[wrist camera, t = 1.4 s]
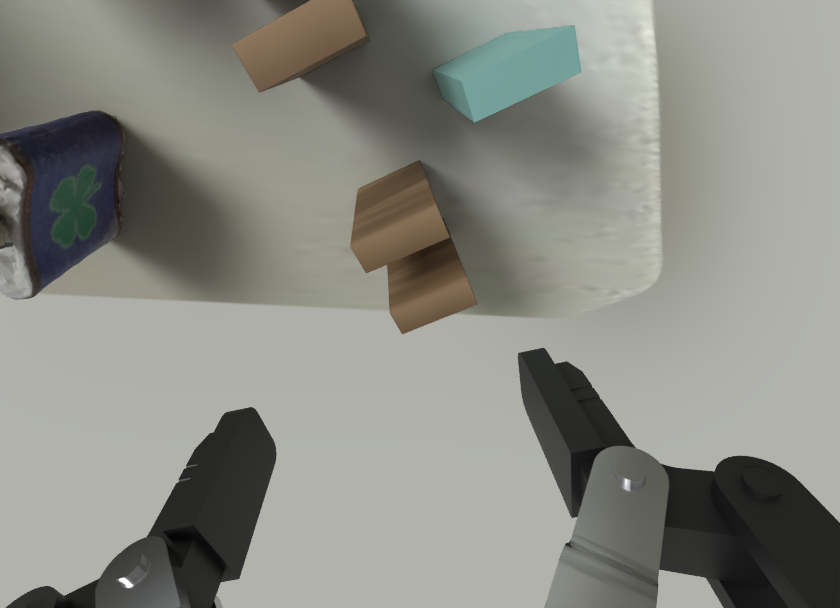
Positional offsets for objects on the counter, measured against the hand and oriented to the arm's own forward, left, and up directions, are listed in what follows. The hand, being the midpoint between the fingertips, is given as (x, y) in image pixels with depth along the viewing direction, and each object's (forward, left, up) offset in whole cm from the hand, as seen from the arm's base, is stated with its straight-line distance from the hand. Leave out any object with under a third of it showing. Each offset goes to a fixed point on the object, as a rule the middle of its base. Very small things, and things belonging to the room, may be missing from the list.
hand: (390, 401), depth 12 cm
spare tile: (-5, +9, -21) cm, 23 cm away
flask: (-9, -17, -21) cm, 28 cm away
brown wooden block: (+5, +1, -21) cm, 21 cm away
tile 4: (0, +1, -21) cm, 21 cm away
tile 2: (-9, +1, -21) cm, 23 cm away
